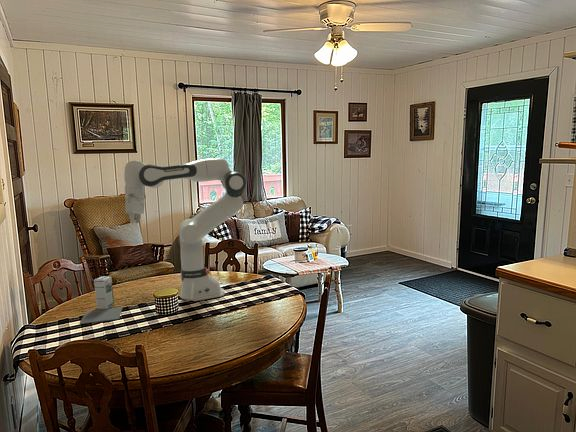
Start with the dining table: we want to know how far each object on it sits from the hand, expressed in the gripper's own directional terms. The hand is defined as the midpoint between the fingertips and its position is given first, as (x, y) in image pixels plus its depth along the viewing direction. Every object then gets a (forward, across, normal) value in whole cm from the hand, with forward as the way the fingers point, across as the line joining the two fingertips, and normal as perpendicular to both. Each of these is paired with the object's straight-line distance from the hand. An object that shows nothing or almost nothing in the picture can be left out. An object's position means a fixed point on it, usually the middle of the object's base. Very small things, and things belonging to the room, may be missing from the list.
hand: (135, 223), depth 205 cm
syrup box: (+40, +1, +15) cm, 43 cm away
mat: (+42, -10, +13) cm, 45 cm away
